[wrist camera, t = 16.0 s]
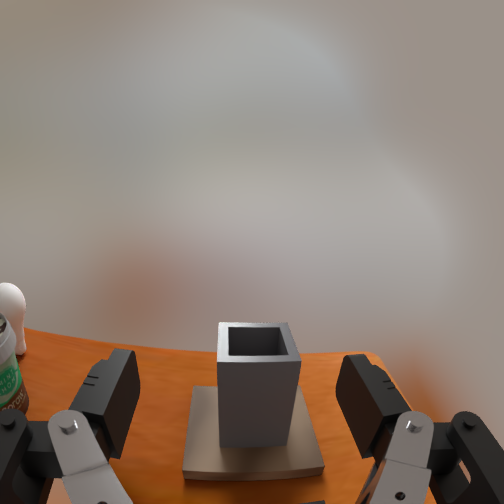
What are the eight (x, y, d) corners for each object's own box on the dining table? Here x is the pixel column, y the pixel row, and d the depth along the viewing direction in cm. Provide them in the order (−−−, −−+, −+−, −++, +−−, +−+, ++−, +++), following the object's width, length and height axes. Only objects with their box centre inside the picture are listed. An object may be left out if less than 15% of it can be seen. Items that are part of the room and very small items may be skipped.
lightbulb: (41, 360, 33) (22, 287, 30) (5, 369, 29) (-18, 295, 26) (35, 340, 37) (20, 273, 34) (2, 348, 33) (-16, 281, 30)
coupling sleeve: (219, 447, 23) (217, 361, 20) (220, 404, 29) (219, 322, 26) (286, 445, 23) (301, 360, 21) (277, 404, 29) (287, 322, 27)
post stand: (184, 478, 20) (171, 417, 18) (194, 395, 32) (190, 333, 30) (321, 474, 21) (343, 413, 19) (298, 394, 33) (307, 334, 30)
